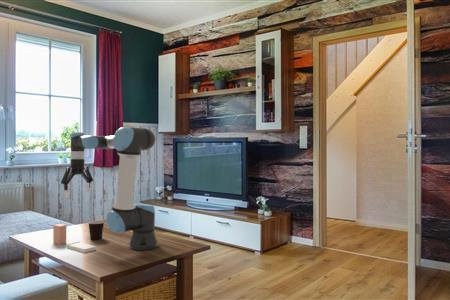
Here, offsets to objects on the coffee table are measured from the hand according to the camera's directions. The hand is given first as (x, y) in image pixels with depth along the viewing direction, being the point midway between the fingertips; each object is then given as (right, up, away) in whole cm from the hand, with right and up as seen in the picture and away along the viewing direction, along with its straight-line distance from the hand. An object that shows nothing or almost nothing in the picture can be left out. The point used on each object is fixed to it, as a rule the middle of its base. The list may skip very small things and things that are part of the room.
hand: (77, 194), depth 217 cm
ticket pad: (+11, -26, -23) cm, 36 cm away
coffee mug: (+12, -26, 0) cm, 29 cm away
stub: (-5, -26, -11) cm, 28 cm away
